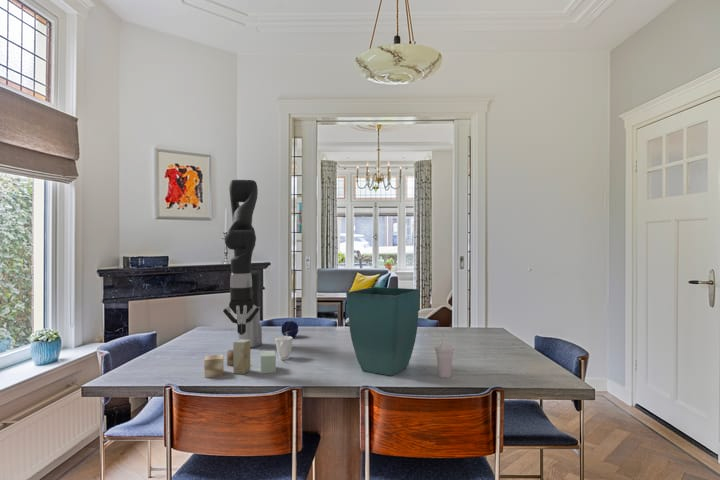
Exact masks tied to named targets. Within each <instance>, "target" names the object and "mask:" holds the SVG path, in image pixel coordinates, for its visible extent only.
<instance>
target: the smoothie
mask: <svg viewBox="0 0 720 480" xmlns="http://www.w3.org/2000/svg"><path fill="white" fill-rule="evenodd" d="M444 343H445V342H444V334H443V333H442V334H441V345H436V346H435V347H434V351H435V353H436V361H437V369H438V376H439V378H440V377H441V378H443V379H444V378H450V377H451V373H452V364H453V356H454V352H455V348H454V346H451V345H446V344H444Z"/></svg>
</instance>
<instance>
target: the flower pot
mask: <svg viewBox="0 0 720 480" xmlns="http://www.w3.org/2000/svg"><path fill="white" fill-rule="evenodd" d="M420 292H421V290H420V289H418V288H405V287H404V288H401V287H385V286H384V287H383V286H373V287H372V286H371V287H367V288H362V289H357V290H352V291H347V292H345V294H346V295H345V296H346V304H347V313H348V314H347V315H348V325H349V333H350V339H351V342H352V343H351V344H352V346H353V350H354V353H355V357H356V359H357V362H358V364H359V367H360V369H361V371H362V372H368V373H374V374H378V375H386V376H394V375H395V374H398V373H400V372H401V371H402V370H404V369H406V368H407V367H408V366H409V363H410V360H411V357H412V354H413V350H414V346H415V343H416V339H417V333H418V332H417V331H418V327H419V325H418V324H419V308H420V294H421V293H420Z"/></svg>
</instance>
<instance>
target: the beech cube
mask: <svg viewBox="0 0 720 480" xmlns="http://www.w3.org/2000/svg"><path fill="white" fill-rule="evenodd" d="M223 376H224V354H211V355H205V356H204V378H213V377H215V378H216V377H223Z"/></svg>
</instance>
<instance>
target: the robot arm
mask: <svg viewBox="0 0 720 480" xmlns="http://www.w3.org/2000/svg"><path fill="white" fill-rule="evenodd" d="M228 190H229V201H230V208H231V217H232V223H231V225H230V227H229V229H228V230H227V232H226V234H225V236H224V243H225V246H226V248H228V249H229V250H231V251H232V250H233V255H234V256H233V257H232V258H230V279H229V285H230V289H229V291H230V292H229V293H230V295H229V296H230V297H229V299H230V301H229V303H228V306H227V307H226V308H223V309H222V310H223V311H222V312H223V313H224V314H225V315H226V317H227V318H228V319H229V320H230V321H231V322H232V323H233V324H236V325H237V326H236V327H237V331H236V332H237V334H238V340H240V339H244V340H250V349H251V348H257V347H259V346H261V345H263V332H262V331H263V330H262V329H263V327H262V326H263V325H262V323H261V319H260V318H261V317H260V316H261V314H260V311H261V309H260V308H261V307H260V289H261V275H260V272H258V271H256V270H255V271H252V256H253V253H254V249H255V247H256V241H257V237H256V231H255V228H254V226H253V214H254V211H255V208H256V203H257V200H258V195H259V194H258V191H259V189H258V185H257V181H255V180H253V179H233V180H231V181H229V189H228ZM240 203H242V204H241V205H240ZM231 311H232V312H233V313H234V314H235V315H236V318H235V317H234V315H232V313H231Z"/></svg>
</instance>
